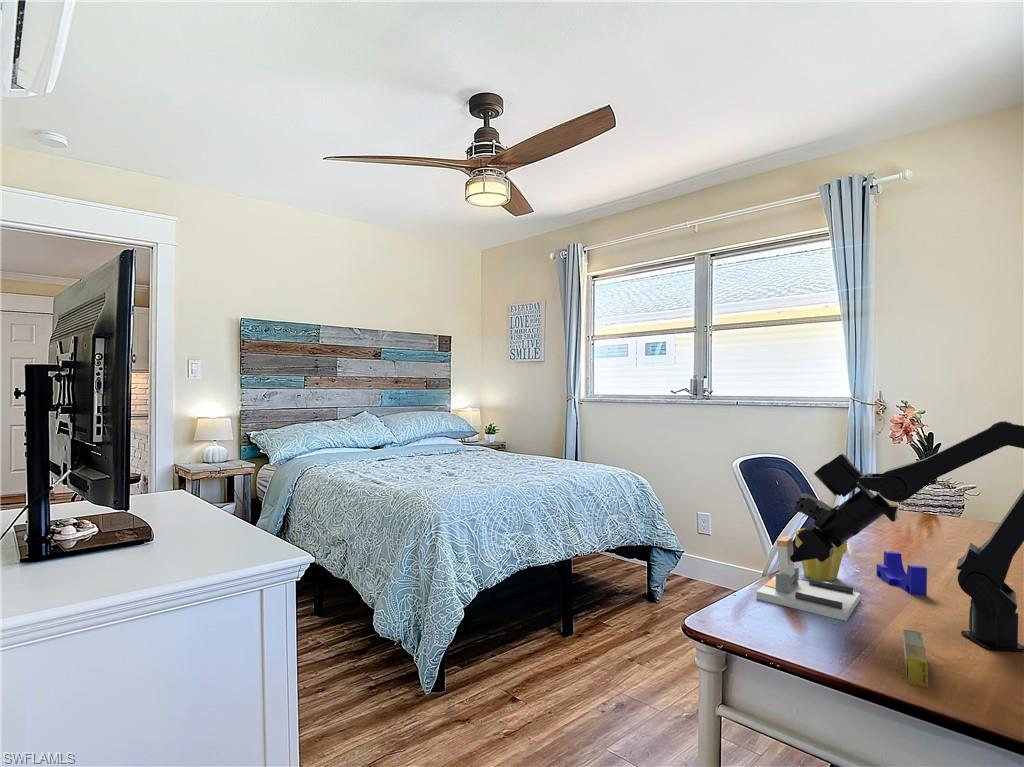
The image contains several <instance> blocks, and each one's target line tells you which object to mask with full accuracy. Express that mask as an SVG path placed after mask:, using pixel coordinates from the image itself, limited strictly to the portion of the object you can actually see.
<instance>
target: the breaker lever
mask: <svg viewBox="0 0 1024 767" xmlns="http://www.w3.org/2000/svg"><path fill="white" fill-rule="evenodd" d="M793 539H794V537H793V536H783V535H782V536H781V537H779V538H778V539H777V540H776V546H777V558H778V573H782V574H786V575H790V584H791V583H792V582H793V581H794V580H795V576H794V574H795V572H794V566H795V562H792V561H791V560H790V557H791V556H792V554H793V553H794V544H793V543H794V540H793Z"/></svg>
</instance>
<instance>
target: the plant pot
mask: <svg viewBox="0 0 1024 767" xmlns="http://www.w3.org/2000/svg"><path fill="white" fill-rule="evenodd" d="M806 528H807V527H805V528H798V529H796V531H795V546H796V547H797V548H798V547H799V546H800V545H801V544H802V543H803V542H802V541H801V540H800V539H799V538H798V536H797V534H799V533H800V532H802V531H803V530H804V529H806ZM832 545H833V546H834V551H833V554H832V555H831V556H830V557H829V558H827V559H826V560H825V561H823V562H820V561H819V560H818V559H817V558H816V559H810V560H805V561H801V566H802V569H803V575H805V576H806V577H808V578H809V579H815V580H820V581H824V582H832V581H835V580H837V578H838V575H839V572H840V567H841V564H842V560H843V558H844V557H843V556H844V554H845V553H847V550H848V548H847V547H848V540H847V541H846V542H844V543H843V544H842V545H841V546H839V547H838V548H837V547H836V546H835V545H834V544H833V543H832Z"/></svg>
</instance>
